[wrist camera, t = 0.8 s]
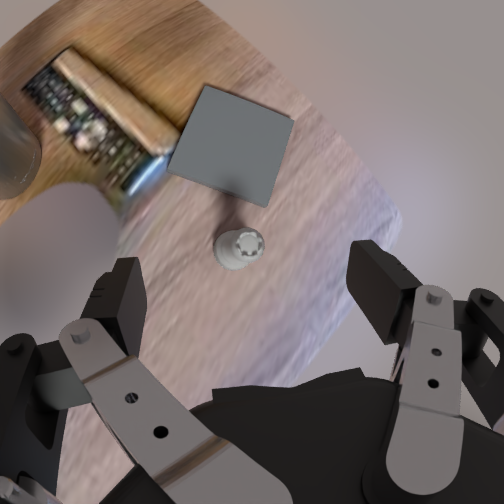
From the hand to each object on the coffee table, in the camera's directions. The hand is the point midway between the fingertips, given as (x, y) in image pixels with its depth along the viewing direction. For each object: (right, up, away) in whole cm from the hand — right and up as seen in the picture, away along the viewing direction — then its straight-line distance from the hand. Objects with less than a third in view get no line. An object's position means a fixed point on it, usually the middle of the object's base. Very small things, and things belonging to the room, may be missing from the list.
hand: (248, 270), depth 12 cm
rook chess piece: (-2, +1, +25) cm, 25 cm away
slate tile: (-2, +13, +26) cm, 29 cm away
